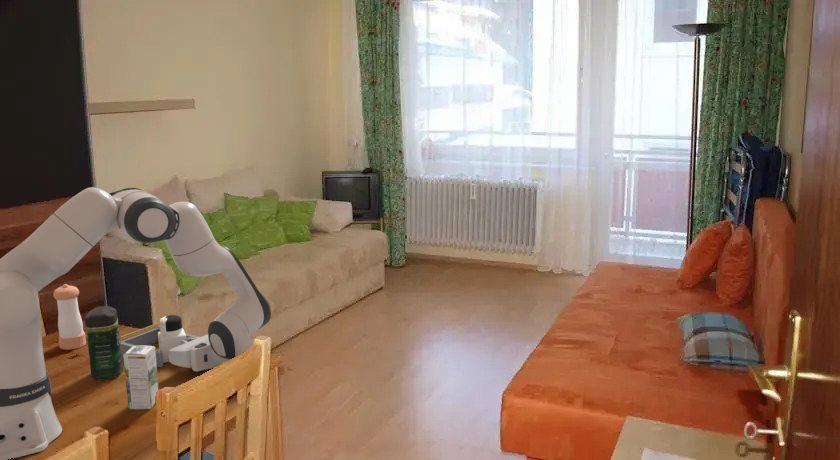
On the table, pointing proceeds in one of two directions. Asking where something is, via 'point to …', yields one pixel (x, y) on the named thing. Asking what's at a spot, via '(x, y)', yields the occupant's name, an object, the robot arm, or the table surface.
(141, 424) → the table surface
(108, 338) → the coffee jar
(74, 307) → the salt shaker
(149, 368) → the syrup box
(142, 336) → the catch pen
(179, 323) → the medicine bottle
